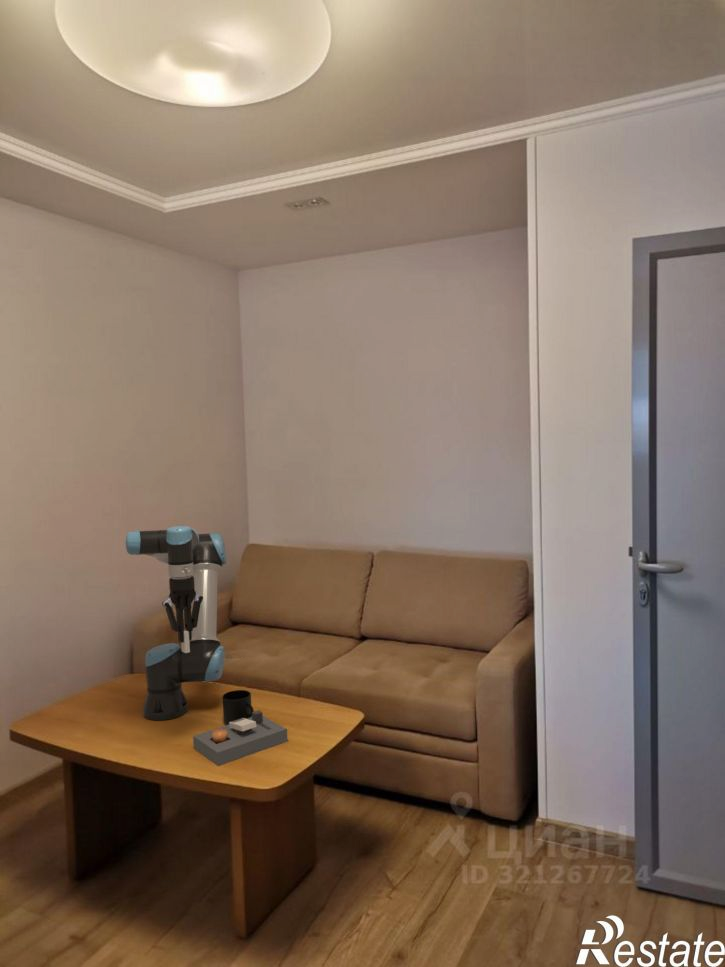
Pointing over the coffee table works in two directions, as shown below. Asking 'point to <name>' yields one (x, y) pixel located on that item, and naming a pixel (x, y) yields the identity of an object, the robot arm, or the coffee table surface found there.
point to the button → (219, 735)
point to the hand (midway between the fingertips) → (185, 651)
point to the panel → (240, 741)
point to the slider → (257, 716)
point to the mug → (236, 705)
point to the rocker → (242, 724)
